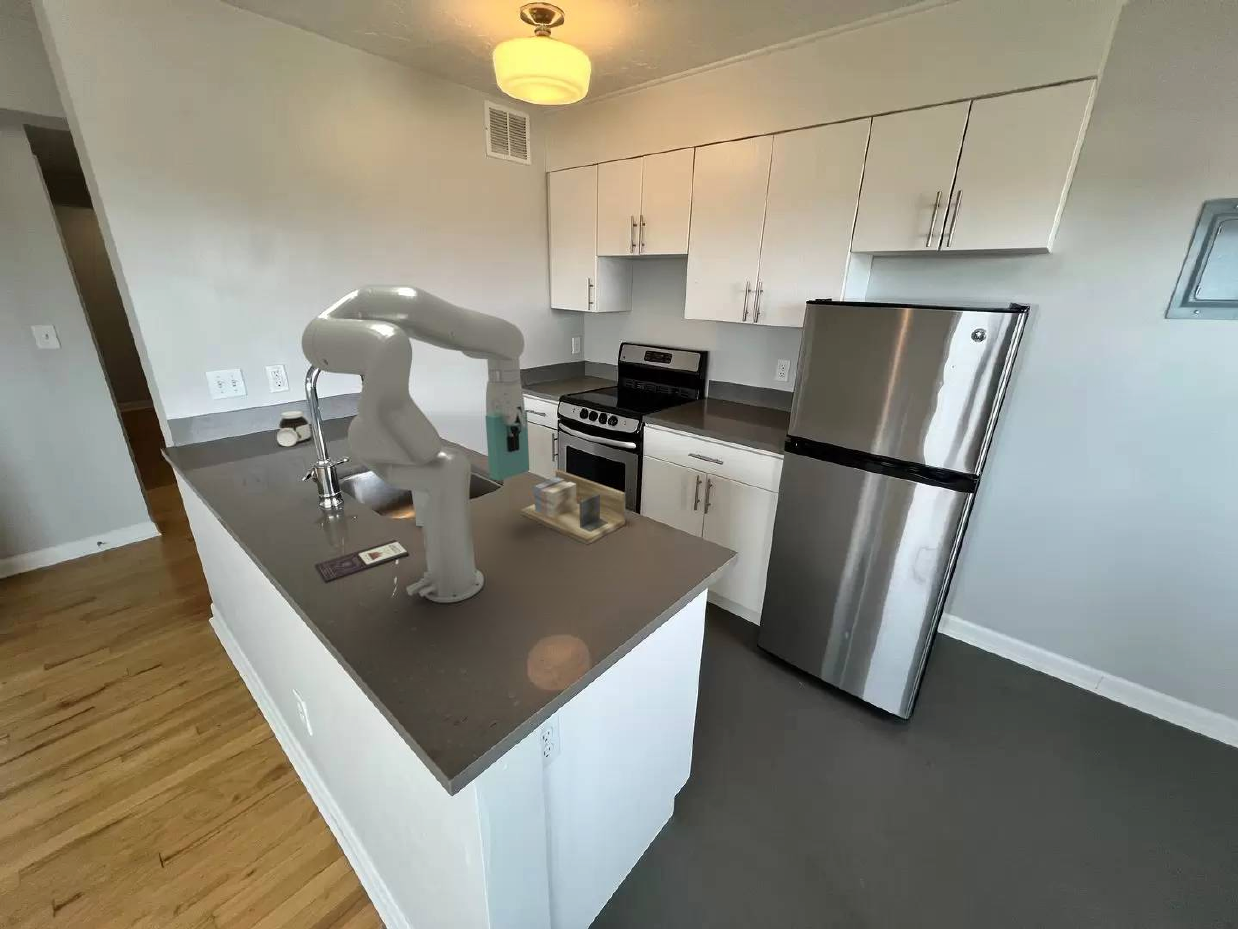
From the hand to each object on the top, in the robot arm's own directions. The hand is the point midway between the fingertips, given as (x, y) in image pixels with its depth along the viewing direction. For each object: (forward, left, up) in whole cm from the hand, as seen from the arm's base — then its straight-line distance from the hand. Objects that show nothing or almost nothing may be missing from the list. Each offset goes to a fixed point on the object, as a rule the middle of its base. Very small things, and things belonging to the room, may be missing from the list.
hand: (508, 448), depth 126 cm
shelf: (+14, -8, -23) cm, 28 cm away
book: (0, 0, -7) cm, 7 cm away
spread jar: (-11, +123, -23) cm, 126 cm away
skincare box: (-12, +20, -23) cm, 33 cm away
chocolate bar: (-34, +13, -23) cm, 43 cm away
